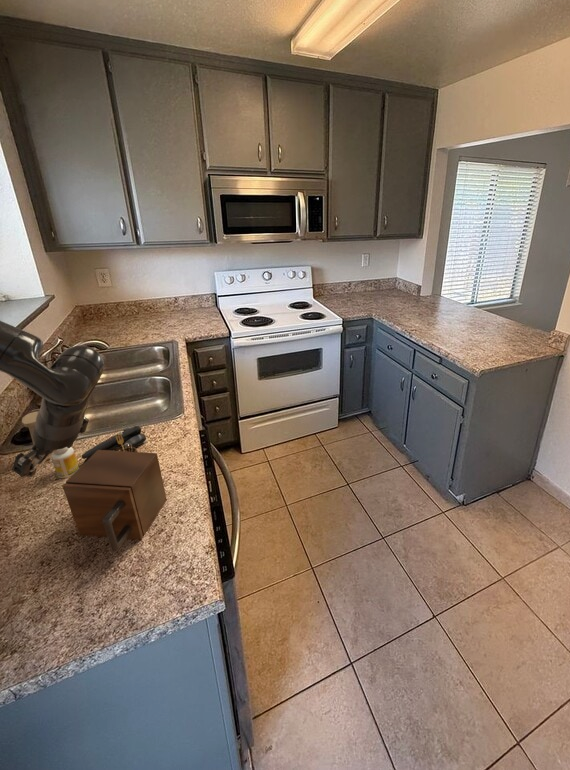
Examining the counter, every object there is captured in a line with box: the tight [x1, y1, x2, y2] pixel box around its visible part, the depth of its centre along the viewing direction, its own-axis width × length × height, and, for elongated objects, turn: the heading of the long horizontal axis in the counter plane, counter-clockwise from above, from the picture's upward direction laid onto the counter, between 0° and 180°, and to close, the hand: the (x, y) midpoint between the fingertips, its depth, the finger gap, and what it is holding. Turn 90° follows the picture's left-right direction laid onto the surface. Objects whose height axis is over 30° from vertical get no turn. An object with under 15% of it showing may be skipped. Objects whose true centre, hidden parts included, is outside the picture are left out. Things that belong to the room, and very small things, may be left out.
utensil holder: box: [114, 431, 138, 452], centre depth 103 cm, size 6×6×12 cm
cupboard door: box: [61, 482, 144, 553], centre depth 79 cm, size 6×16×15 cm, turn 85°
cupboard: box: [65, 450, 168, 537], centre depth 88 cm, size 11×16×16 cm
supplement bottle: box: [51, 446, 80, 479], centre depth 103 cm, size 5×5×10 cm
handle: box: [21, 410, 52, 461], centre depth 107 cm, size 5×6×15 cm
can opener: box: [81, 425, 147, 464], centre depth 112 cm, size 18×7×6 cm, turn 135°
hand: (48, 458), depth 79 cm, fingers open, 8 cm apart
